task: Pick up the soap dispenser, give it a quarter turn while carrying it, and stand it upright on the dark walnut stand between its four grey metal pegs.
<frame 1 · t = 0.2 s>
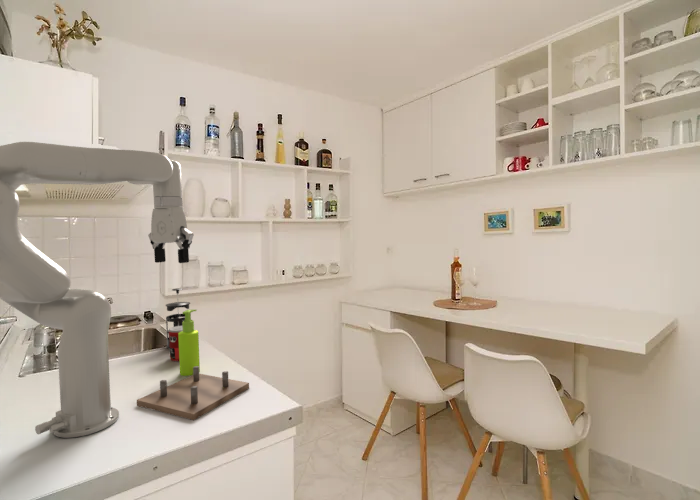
hand: (171, 262, 109), 36 cm above the worktop, tool pointing down, fingers open, 9 cm apart
soap dispenser: (190, 372, 120), on the worktop
french press: (179, 345, 150), on the worktop
peg stand: (195, 396, 102), on the worktop
canned food: (182, 358, 134), on the worktop
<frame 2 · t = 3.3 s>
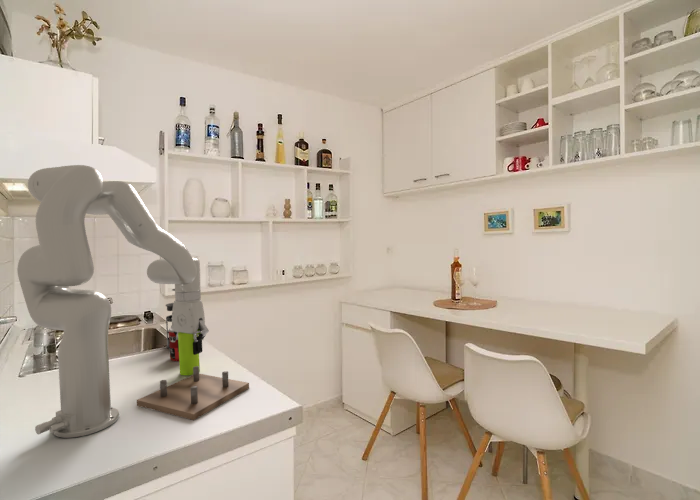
hand: (190, 351, 120), 7 cm above the worktop, tool pointing down, fingers closed on soap dispenser, 5 cm apart
soap dispenser: (190, 372, 120), on the worktop, touching gripper
everything else where it was.
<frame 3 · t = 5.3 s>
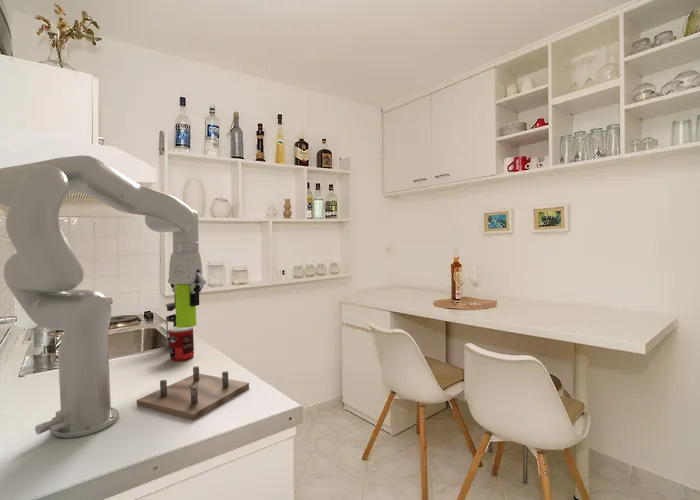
hand: (187, 304, 119), 22 cm above the worktop, tool pointing down, fingers closed on soap dispenser, 5 cm apart
soap dispenser: (187, 325, 119), point 15 cm above the worktop, touching gripper
everything else where it was.
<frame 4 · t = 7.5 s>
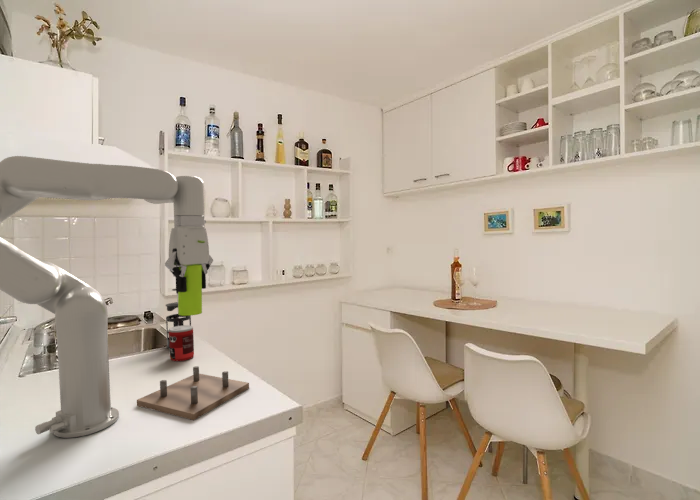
hand: (191, 289, 101), 29 cm above the worktop, tool pointing down, fingers closed on soap dispenser, 5 cm apart
soap dispenser: (192, 314, 101), point 23 cm above the worktop, touching gripper
everything else where it was.
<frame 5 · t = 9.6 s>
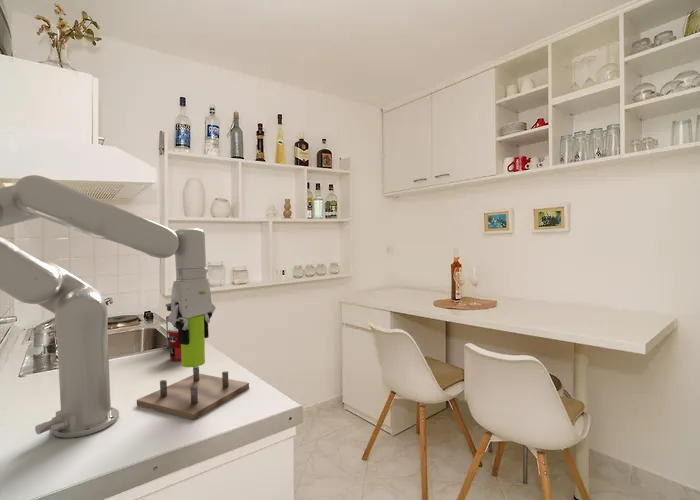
hand: (194, 340, 101), 16 cm above the worktop, tool pointing down, fingers closed on soap dispenser, 5 cm apart
soap dispenser: (195, 364, 101), point 9 cm above the worktop, touching gripper
everything else where it was.
when the fingers open (9 cm above the worktop, at t = 11.5 s): soap dispenser drops 1 cm, resting on peg stand.
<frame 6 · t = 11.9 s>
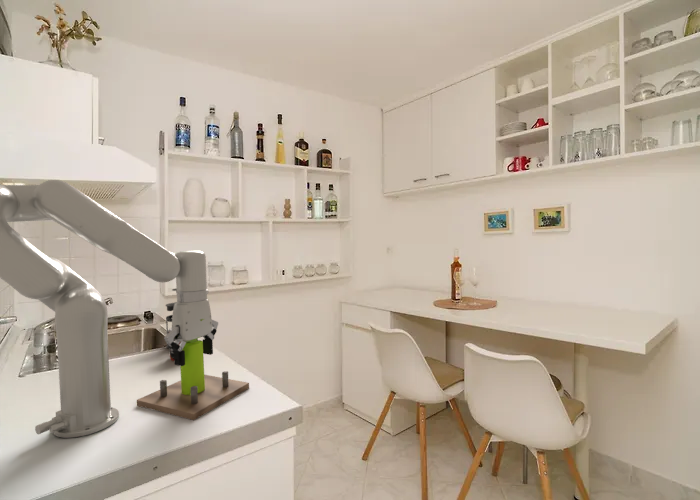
hand: (194, 359, 101), 10 cm above the worktop, tool pointing down, fingers open, 9 cm apart
soap dispenser: (195, 391, 102), point 1 cm above the worktop, touching peg stand
everything else where it was.
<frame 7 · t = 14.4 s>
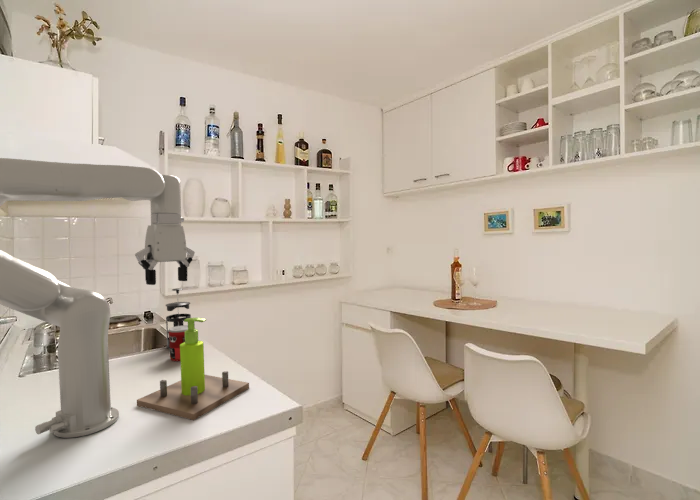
hand: (167, 282, 103), 31 cm above the worktop, tool pointing down, fingers open, 9 cm apart
nothing on the worktop moved.
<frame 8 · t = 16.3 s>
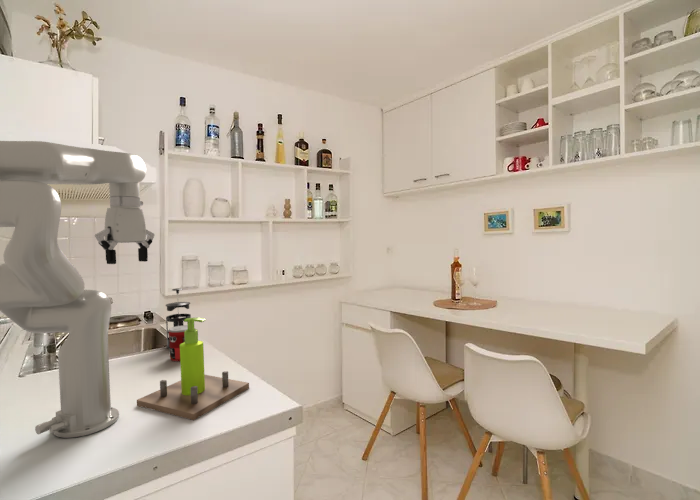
hand: (127, 262, 109), 36 cm above the worktop, tool pointing down, fingers open, 9 cm apart
nothing on the worktop moved.
at the end: soap dispenser 0.1 cm from the peg stand (horizontally); soap dispenser tilted 0°; soap dispenser touching peg stand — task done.
